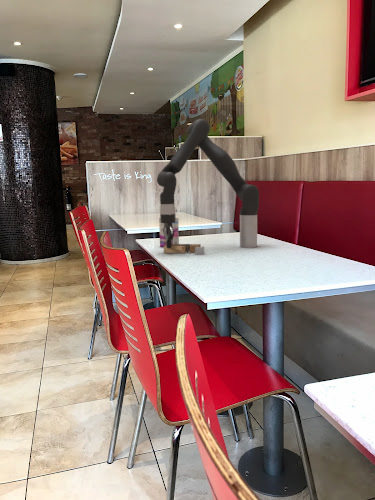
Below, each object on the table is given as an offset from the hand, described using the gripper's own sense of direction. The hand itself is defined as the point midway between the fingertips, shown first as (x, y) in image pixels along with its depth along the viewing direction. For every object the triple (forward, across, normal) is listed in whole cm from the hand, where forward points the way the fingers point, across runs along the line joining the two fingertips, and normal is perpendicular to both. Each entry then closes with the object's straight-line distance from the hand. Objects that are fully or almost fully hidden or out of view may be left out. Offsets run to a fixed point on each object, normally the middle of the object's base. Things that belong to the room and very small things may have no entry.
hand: (169, 247), depth 214 cm
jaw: (+3, -1, +3) cm, 4 cm away
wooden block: (+3, -2, +8) cm, 9 cm away
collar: (+3, +8, +13) cm, 16 cm away
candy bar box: (+3, -20, +6) cm, 21 cm away
